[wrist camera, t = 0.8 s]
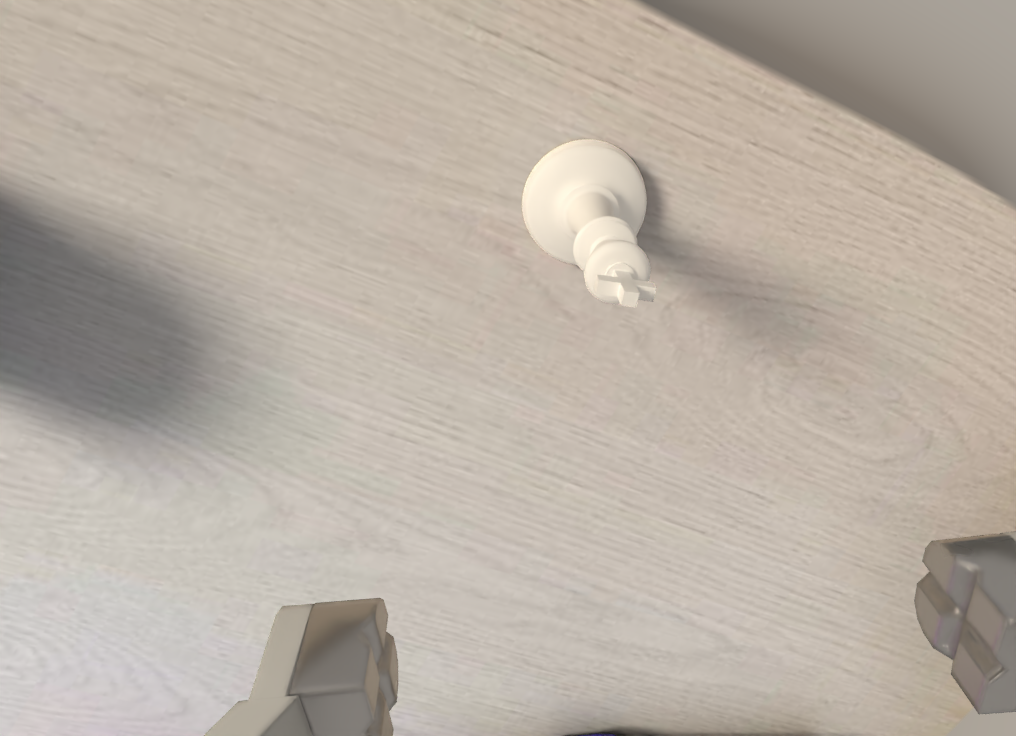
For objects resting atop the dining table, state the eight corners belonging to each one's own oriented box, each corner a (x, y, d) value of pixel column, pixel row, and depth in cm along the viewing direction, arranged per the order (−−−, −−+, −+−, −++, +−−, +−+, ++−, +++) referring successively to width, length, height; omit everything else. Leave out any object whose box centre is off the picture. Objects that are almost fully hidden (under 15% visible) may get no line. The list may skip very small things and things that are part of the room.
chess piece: (629, 268, 30) (691, 386, 22) (512, 252, 30) (527, 366, 21) (659, 149, 28) (741, 226, 19) (533, 129, 28) (559, 199, 19)
